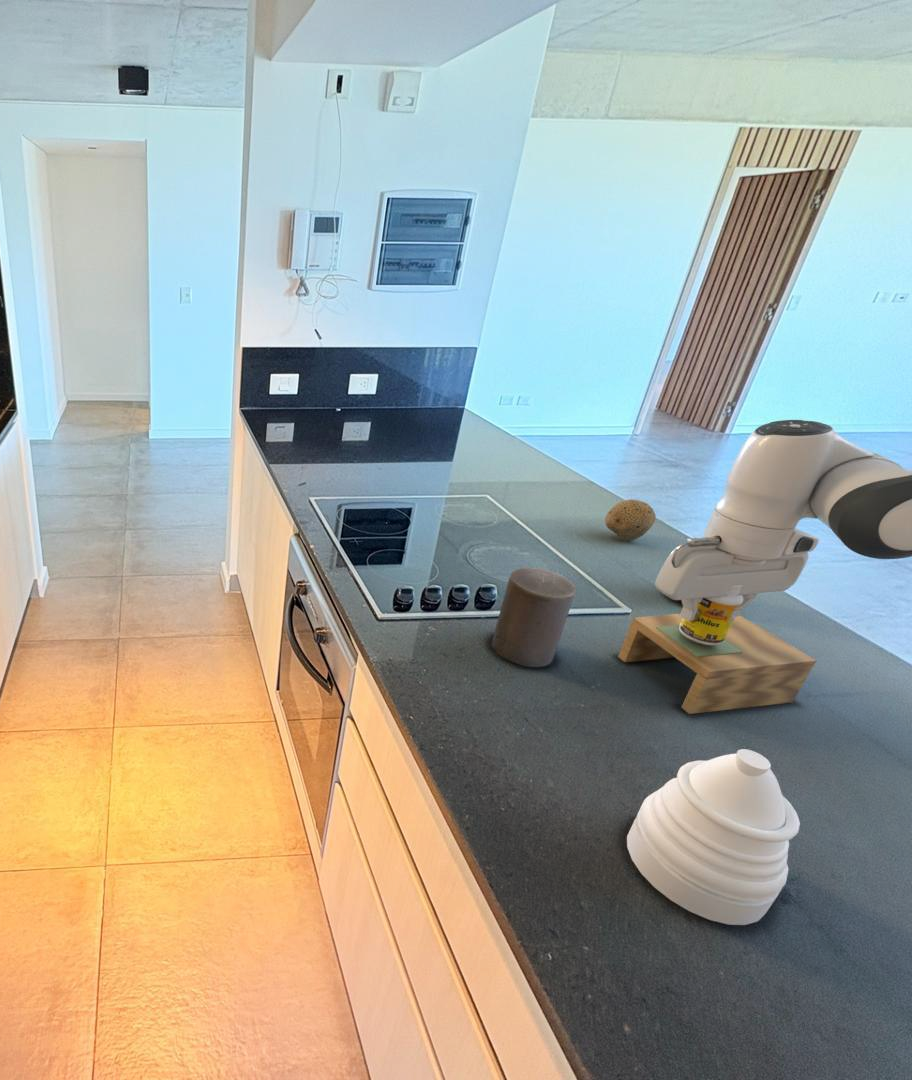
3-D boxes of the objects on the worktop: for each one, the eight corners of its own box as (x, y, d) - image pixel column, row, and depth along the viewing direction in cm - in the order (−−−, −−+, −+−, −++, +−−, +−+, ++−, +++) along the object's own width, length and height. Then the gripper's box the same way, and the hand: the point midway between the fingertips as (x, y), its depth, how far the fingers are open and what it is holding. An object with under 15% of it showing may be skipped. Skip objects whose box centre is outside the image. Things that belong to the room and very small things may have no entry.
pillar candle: (480, 648, 106) (500, 572, 99) (507, 627, 112) (527, 554, 105) (538, 676, 99) (564, 597, 93) (563, 652, 105) (589, 576, 98)
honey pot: (745, 951, 61) (829, 828, 53) (606, 856, 71) (660, 739, 63) (783, 880, 68) (863, 761, 60) (652, 802, 77) (706, 690, 69)
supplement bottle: (670, 632, 95) (694, 575, 91) (687, 622, 98) (712, 566, 93) (712, 651, 91) (740, 592, 86) (729, 640, 94) (757, 582, 89)
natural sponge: (605, 545, 141) (619, 505, 137) (595, 529, 149) (607, 491, 144) (650, 550, 139) (666, 510, 134) (638, 534, 147) (652, 495, 142)
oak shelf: (711, 647, 106) (729, 607, 103) (792, 702, 94) (817, 659, 90) (618, 656, 104) (633, 616, 100) (689, 714, 92) (710, 670, 88)
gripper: (700, 549, 83) (665, 634, 89) (830, 539, 85) (786, 622, 91) (662, 529, 88) (631, 610, 94) (784, 521, 91) (746, 600, 97)
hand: (708, 616), depth 93 cm, fingers closed on supplement bottle, 5 cm apart
